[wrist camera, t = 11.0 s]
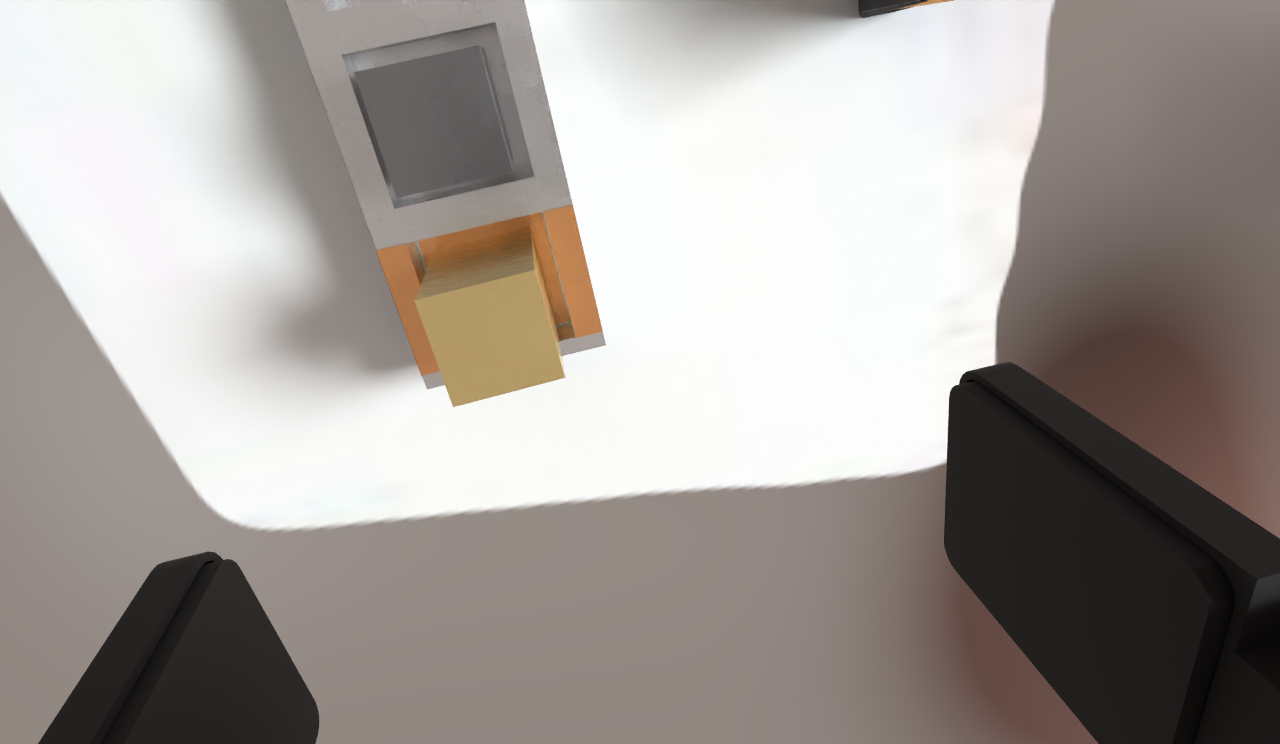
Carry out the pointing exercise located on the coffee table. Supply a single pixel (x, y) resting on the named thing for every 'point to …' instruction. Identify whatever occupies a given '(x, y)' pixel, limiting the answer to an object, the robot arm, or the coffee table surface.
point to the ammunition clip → (890, 6)
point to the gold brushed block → (490, 317)
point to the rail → (454, 215)
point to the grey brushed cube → (436, 120)
